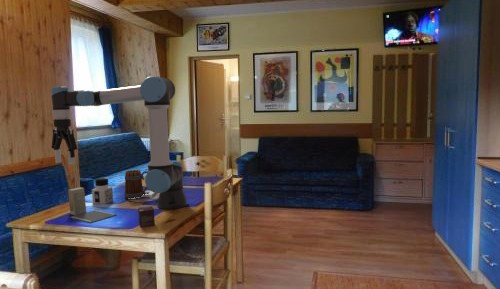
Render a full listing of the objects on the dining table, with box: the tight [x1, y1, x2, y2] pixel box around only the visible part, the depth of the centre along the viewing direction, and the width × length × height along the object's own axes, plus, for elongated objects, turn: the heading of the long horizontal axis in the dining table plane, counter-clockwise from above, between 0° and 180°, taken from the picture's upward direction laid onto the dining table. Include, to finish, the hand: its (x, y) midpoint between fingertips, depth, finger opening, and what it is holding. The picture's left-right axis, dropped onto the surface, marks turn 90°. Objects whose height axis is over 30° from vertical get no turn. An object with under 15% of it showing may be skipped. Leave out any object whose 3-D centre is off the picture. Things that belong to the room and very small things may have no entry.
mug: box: [124, 169, 150, 200], centre depth 217 cm, size 16×11×15 cm
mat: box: [68, 209, 117, 224], centre depth 181 cm, size 16×14×1 cm
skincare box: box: [67, 186, 87, 216], centre depth 187 cm, size 6×4×12 cm
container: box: [91, 177, 114, 205], centre depth 208 cm, size 8×8×13 cm
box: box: [137, 205, 156, 228], centre depth 167 cm, size 6×6×7 cm
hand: (65, 163), depth 190 cm, fingers open, 11 cm apart
